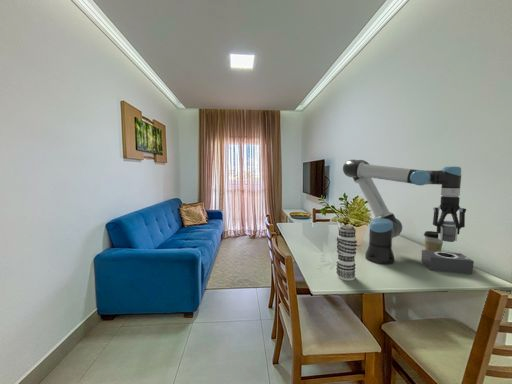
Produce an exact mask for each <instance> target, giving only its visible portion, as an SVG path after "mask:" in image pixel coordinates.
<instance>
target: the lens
mask: <svg viewBox="0 0 512 384" xmlns="http://www.w3.org/2000/svg"><path fill="white" fill-rule="evenodd" d="M455 223H456V222H454V221H453V220H444V222H443V224H442V226H441V227H442V228H443V235H442V241H443V242H448V243H454V242H455V241H454V238H455V228H456V227H455V226H456V224H455Z"/></svg>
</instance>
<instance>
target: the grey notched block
mask: <svg viewBox="0 0 512 384" xmlns="http://www.w3.org/2000/svg"><path fill="white" fill-rule="evenodd" d="M420 262H421V263H422V264H423V265H424V266H425V267H426V268H427V269H429V271H435V272H443V273H451V274H461V273H462V274H461V275H470V274H473V273H474V263H475V261H474V260H473V259H471V258H469V257H467V255H464V254H462V253H461V252H452V251H442V250H441V251H429V250H425V249H422V250H421V261H420ZM473 275H474V274H473Z"/></svg>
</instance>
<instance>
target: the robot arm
mask: <svg viewBox="0 0 512 384" xmlns="http://www.w3.org/2000/svg"><path fill="white" fill-rule="evenodd" d="M342 172H343V174H344V175H345V176H346V177H348V178H352V179H353V181H354V183H355V184H358V186H359V188H360V189H361V191H362V193H363V195H364V198H365V199H366V201H367V203H368V205H369V207H370V210H371V211H372V213H373V214H374V218H373V219H371V220H370V222H369V234H368V236H369V238H368V240H369V242H368V247H367V249H366V252H365V254H364V255H365V259H366V260H367V261H369V262H372V263H376V264H382V265H391V264H394V263H395V255H394V251H393V248H392V244H393V239H394V238H396V237H398V236H400V234H401V232H402V231H403V224H402V221H400V220H399V219H398V218H397V217H396V216H395V214H394V213H393V212H390V210H389V208H388V207H387V205H386V204H385V203H386V202H385V201H384V200H383V197H382V195H381V193H380V192H379V189H378V188H377V185H376V183H374V180H373V179H379V180H386V181H392V182H397V183H398V182H400V183H403V184H404V183H406V184H413V185H416V186H424V185H439V186H441V188H440V189H441V191H440V195H441V196H440V205H439V206H434V207H433V208H432V209H433V219H432V225H433V226H435V227H436V232H437V233H439V234H438V239H440V240H442V235H443V228H442V224H443V222H444V221H445V219H446V217H447V215H451V217H452V221H453V222H456V223H455V224H456V226H455V238H454V242H457V241H458V235H460V231H461V229H462V228H465V221H466V220H465V219H466V217H465V216H466V215H465V214H466V212H467V208H463V207H461V206H460V199H461V198H460V195H461V183H462V168H461V167H460V166H443V167H442V169H441V170H424V169H423V170H422V169H412V168H404V167H403V168H402V167H396V166H386V165H378V164H377V165H376V164H371V163H369V162H367V161H366V160H364V159H349V160H347V161H345V162H344V164H343V167H342ZM440 210H441V213H440ZM458 211H459V217H458V213H457V212H458ZM439 214H440V216H439Z"/></svg>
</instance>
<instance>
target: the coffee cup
mask: <svg viewBox="0 0 512 384" xmlns="http://www.w3.org/2000/svg"><path fill="white" fill-rule="evenodd" d="M438 234H439V233H437V231H434V230H433V231H432V230H431V231H430V230H427V231H425V232H424V234H423V236H424V250H429V251H441V252H442V248H443V243H444V241H442V240H440V239H438Z"/></svg>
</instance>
